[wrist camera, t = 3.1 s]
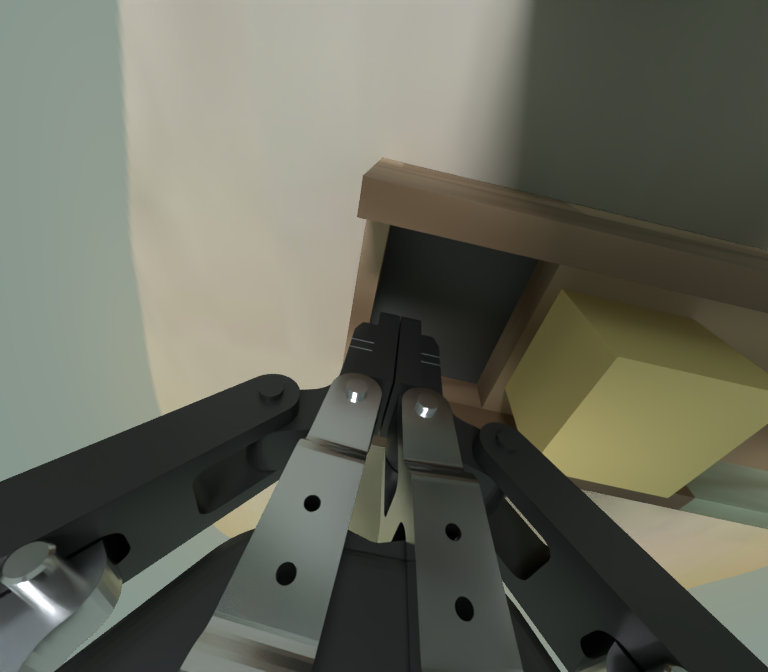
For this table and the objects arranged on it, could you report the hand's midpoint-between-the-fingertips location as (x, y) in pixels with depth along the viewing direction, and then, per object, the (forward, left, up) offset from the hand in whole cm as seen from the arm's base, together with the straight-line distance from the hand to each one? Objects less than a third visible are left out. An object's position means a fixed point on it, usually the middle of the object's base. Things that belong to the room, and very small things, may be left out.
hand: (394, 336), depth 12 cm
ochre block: (0, +8, -1) cm, 8 cm away
